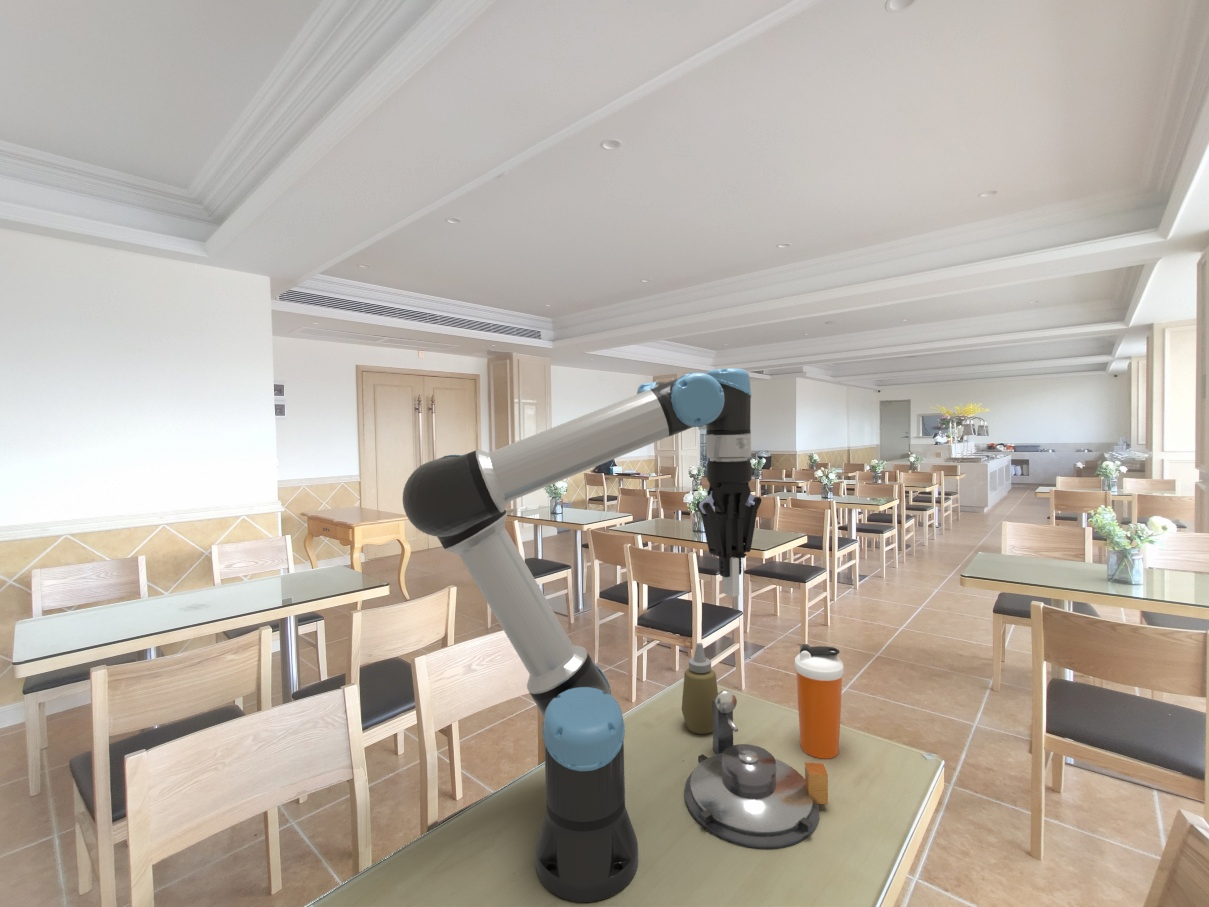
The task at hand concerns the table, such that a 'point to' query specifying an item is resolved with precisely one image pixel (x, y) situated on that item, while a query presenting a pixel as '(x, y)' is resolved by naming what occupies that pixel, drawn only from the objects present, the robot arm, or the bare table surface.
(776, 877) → the table surface
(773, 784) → the cover
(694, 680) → the squeeze bottle
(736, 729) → the indicator post
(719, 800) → the platter
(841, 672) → the shaker bottle
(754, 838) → the turntable base
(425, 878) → the table surface
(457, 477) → the robot arm
